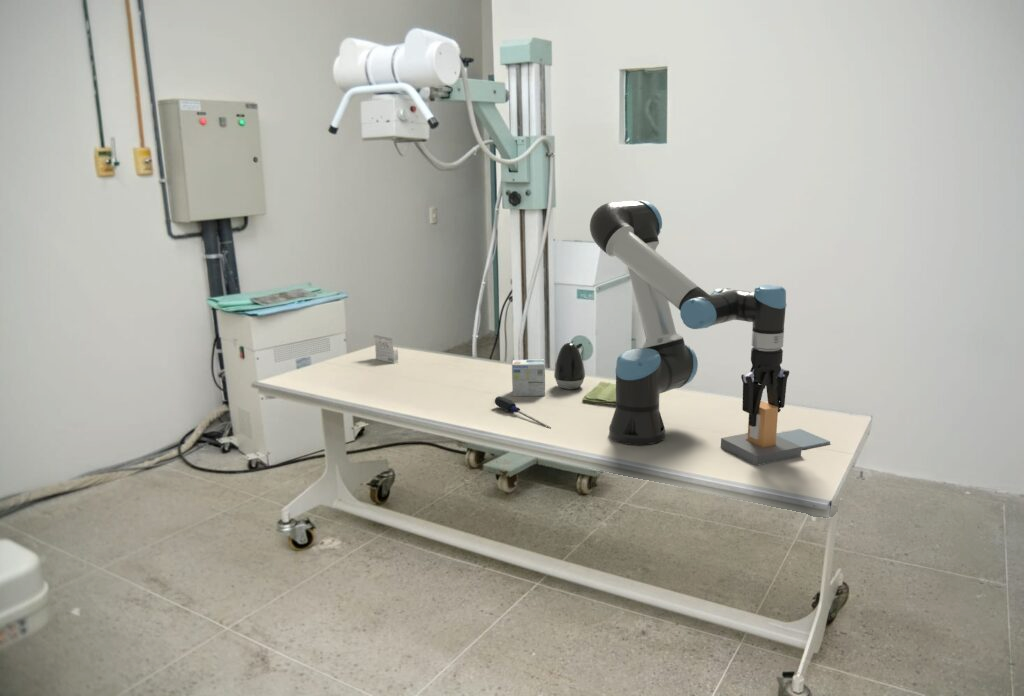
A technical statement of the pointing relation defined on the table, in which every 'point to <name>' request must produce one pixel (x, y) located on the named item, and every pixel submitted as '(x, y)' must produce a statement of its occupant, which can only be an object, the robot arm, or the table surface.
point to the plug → (766, 426)
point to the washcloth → (602, 394)
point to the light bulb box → (528, 377)
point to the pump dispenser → (569, 367)
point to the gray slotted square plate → (760, 449)
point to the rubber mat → (803, 438)
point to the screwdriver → (512, 408)
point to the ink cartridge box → (385, 349)
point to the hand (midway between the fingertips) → (761, 436)
